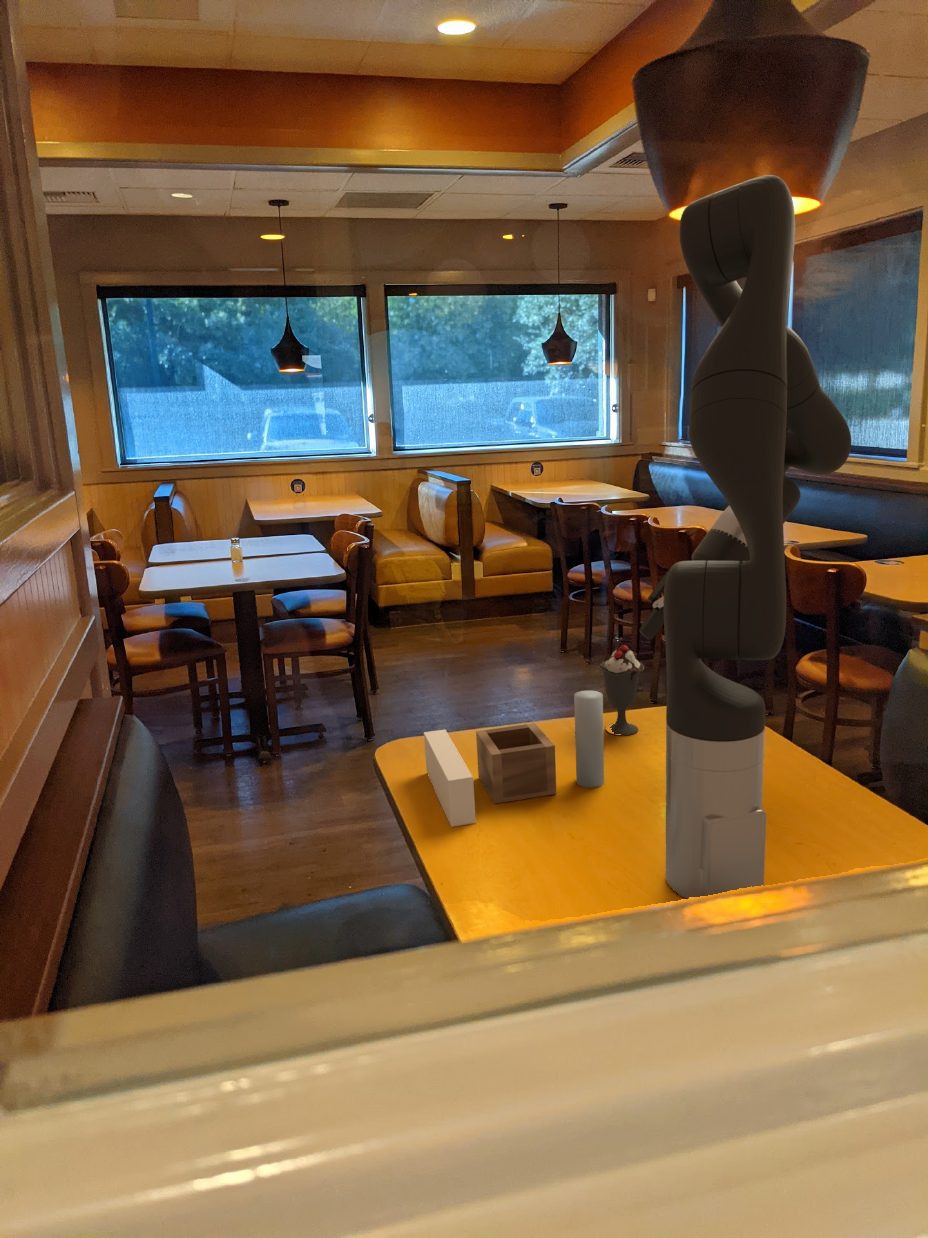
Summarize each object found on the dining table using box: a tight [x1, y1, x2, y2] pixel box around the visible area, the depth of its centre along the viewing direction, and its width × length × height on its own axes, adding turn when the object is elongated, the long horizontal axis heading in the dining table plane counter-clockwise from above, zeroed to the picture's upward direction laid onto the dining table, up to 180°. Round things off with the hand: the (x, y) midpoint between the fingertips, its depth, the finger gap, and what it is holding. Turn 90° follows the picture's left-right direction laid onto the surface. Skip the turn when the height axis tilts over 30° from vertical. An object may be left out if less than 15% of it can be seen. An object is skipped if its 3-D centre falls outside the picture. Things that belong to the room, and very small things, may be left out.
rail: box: [423, 729, 477, 828], centre depth 106 cm, size 16×3×6 cm, turn 13°
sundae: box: [598, 637, 645, 737], centre depth 124 cm, size 7×7×15 cm
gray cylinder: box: [573, 690, 605, 789], centre depth 108 cm, size 4×4×12 cm
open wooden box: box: [475, 722, 557, 804], centre depth 108 cm, size 8×8×7 cm
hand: (663, 644), depth 108 cm, fingers open, 8 cm apart
